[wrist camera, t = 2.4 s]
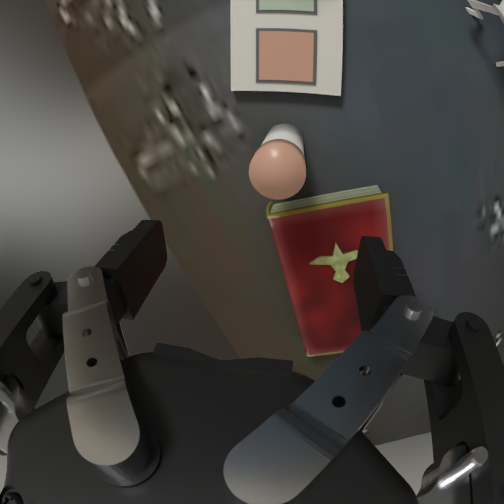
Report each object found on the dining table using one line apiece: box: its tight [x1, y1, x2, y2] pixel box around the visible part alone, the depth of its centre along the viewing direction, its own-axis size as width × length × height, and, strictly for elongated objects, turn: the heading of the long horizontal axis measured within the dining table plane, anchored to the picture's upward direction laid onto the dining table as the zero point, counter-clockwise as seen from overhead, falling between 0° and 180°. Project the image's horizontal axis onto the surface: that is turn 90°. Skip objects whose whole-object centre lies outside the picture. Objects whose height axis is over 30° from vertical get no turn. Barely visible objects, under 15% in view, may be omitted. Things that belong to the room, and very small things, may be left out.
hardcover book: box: [266, 185, 393, 357], centre depth 34 cm, size 12×21×4 cm, turn 16°
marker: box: [249, 124, 306, 199], centre depth 24 cm, size 4×4×10 cm
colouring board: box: [231, 0, 343, 96], centre depth 22 cm, size 10×14×1 cm
